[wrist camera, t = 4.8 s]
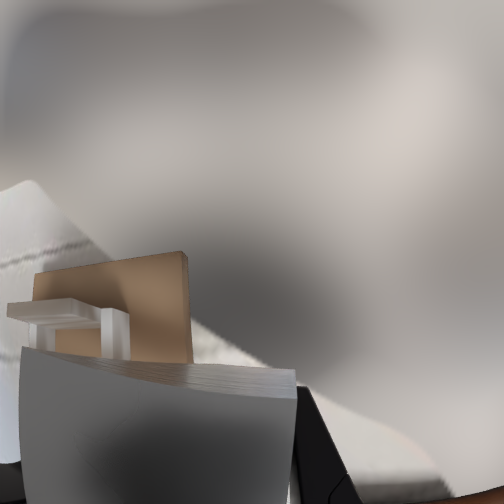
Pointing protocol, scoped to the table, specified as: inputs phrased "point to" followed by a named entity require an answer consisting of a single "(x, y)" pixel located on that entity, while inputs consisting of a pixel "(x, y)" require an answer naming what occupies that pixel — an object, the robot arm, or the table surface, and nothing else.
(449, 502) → the sunglasses case
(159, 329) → the keeper board
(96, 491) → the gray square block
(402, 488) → the table surface
